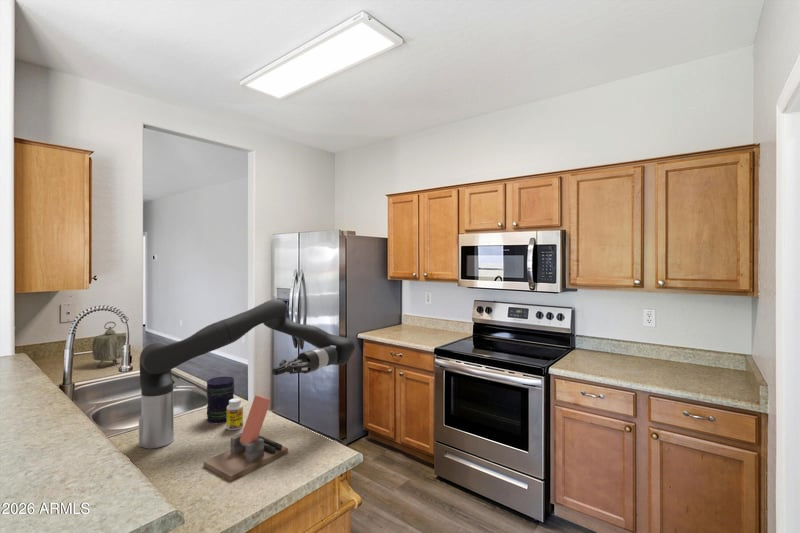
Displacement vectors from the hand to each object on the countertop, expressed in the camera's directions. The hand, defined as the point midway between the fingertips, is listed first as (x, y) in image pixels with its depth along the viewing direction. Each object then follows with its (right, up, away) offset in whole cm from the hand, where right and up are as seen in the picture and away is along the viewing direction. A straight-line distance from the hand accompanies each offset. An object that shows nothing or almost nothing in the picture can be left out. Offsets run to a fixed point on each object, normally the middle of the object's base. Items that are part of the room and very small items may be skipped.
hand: (273, 372), depth 132 cm
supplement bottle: (-19, -25, +15) cm, 35 cm away
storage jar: (-28, -24, +23) cm, 44 cm away
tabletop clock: (-123, -22, +96) cm, 158 cm away
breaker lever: (-6, -20, -8) cm, 22 cm away
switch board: (-6, -25, -8) cm, 27 cm away
